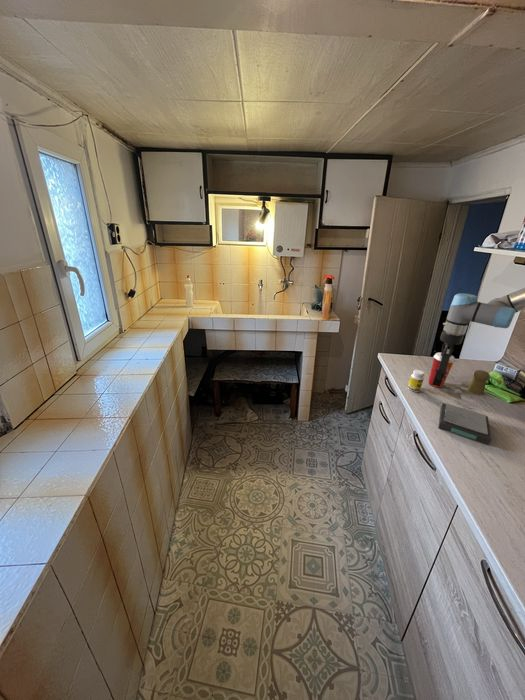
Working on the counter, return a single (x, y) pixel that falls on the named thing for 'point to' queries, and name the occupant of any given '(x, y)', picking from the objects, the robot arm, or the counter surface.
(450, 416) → the kitchen scale
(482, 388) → the cork
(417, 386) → the supplement bottle
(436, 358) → the paper cup
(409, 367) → the counter surface
